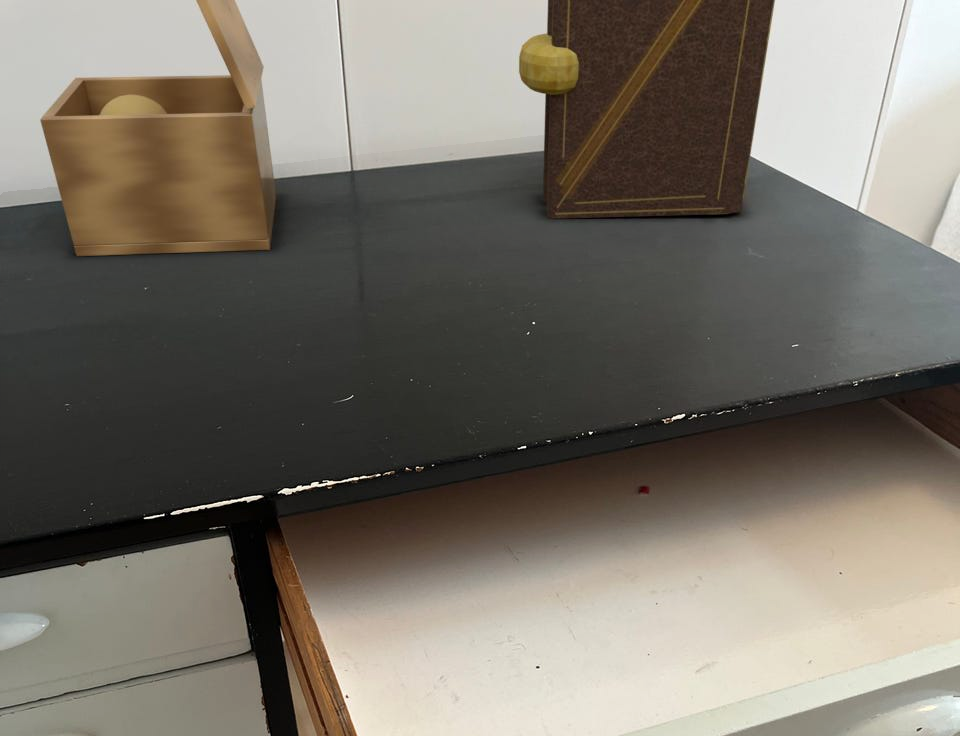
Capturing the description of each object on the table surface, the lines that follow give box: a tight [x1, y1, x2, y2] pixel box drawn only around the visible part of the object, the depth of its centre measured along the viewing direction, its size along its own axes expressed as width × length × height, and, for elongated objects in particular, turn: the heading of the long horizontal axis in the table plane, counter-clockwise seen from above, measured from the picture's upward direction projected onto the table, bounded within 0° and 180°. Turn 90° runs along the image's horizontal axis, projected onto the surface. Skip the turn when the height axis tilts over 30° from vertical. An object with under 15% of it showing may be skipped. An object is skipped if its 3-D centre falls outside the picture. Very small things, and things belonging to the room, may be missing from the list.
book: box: [518, 0, 776, 220], centre depth 87 cm, size 22×8×25 cm, turn 92°
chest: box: [40, 74, 277, 257], centre depth 87 cm, size 17×15×11 cm
